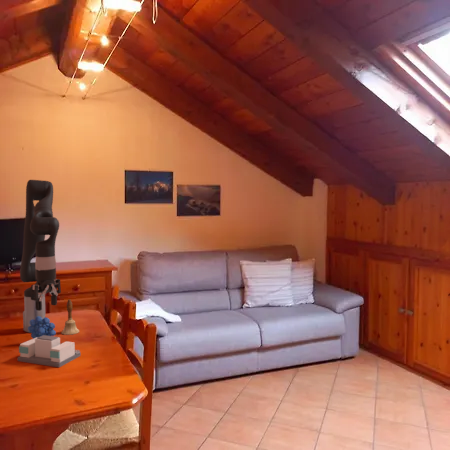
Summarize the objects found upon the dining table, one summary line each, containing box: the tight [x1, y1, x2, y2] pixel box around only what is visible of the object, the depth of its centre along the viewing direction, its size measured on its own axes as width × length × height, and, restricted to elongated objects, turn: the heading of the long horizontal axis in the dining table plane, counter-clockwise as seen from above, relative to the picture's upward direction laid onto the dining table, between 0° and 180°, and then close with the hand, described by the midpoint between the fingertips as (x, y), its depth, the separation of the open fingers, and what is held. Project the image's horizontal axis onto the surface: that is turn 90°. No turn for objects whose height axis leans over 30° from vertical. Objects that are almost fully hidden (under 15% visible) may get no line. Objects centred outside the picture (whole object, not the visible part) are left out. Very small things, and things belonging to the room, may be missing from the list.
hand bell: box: [60, 299, 80, 336], centre depth 211 cm, size 8×8×16 cm
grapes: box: [28, 316, 57, 339], centre depth 196 cm, size 12×7×12 cm, turn 106°
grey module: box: [35, 335, 61, 359], centre depth 177 cm, size 8×5×7 cm, turn 72°
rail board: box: [17, 337, 81, 368], centre depth 178 cm, size 20×13×6 cm, turn 72°
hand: (46, 307), depth 176 cm, fingers open, 8 cm apart
